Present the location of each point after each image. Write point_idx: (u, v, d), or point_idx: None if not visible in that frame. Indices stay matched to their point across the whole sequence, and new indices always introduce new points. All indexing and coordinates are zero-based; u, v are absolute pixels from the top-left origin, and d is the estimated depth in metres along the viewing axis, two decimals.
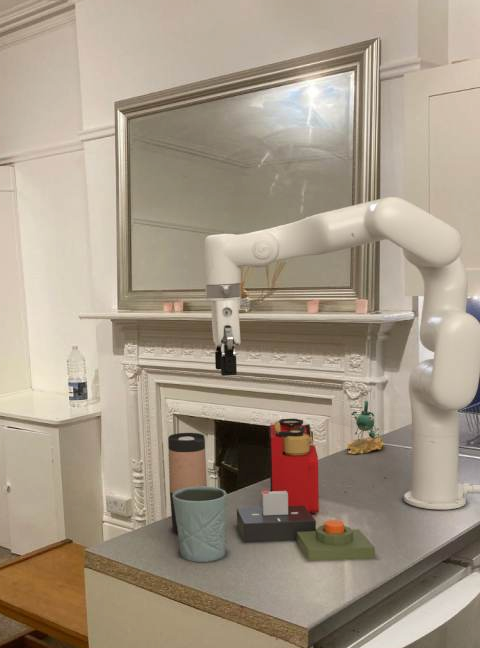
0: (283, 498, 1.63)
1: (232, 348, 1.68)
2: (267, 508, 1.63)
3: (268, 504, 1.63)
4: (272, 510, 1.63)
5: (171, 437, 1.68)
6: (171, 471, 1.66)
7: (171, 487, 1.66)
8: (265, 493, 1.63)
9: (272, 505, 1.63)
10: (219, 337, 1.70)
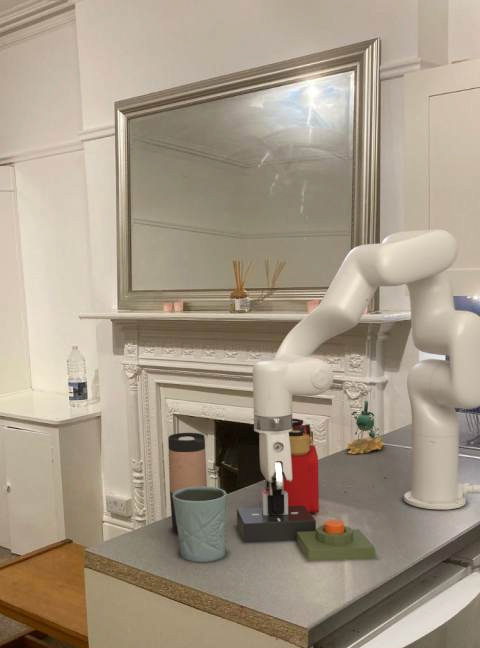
0: None
1: None
2: (267, 508, 1.63)
3: None
4: None
5: (171, 437, 1.68)
6: (171, 471, 1.66)
7: (171, 487, 1.66)
8: (265, 493, 1.63)
9: None
10: (269, 473, 1.58)
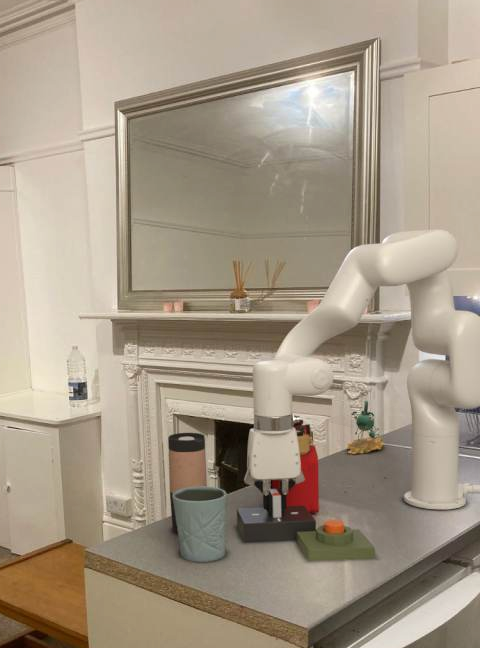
0: None
1: None
2: None
3: None
4: None
5: (171, 437, 1.68)
6: (171, 471, 1.66)
7: (171, 487, 1.66)
8: (279, 494, 1.61)
9: None
10: (300, 468, 1.61)
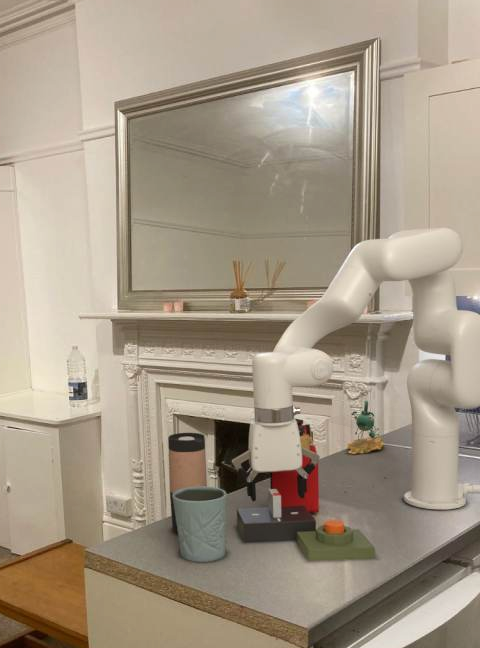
0: None
1: None
2: None
3: None
4: None
5: (171, 437, 1.68)
6: (171, 471, 1.66)
7: (171, 487, 1.66)
8: (279, 494, 1.61)
9: None
10: (301, 459, 1.61)
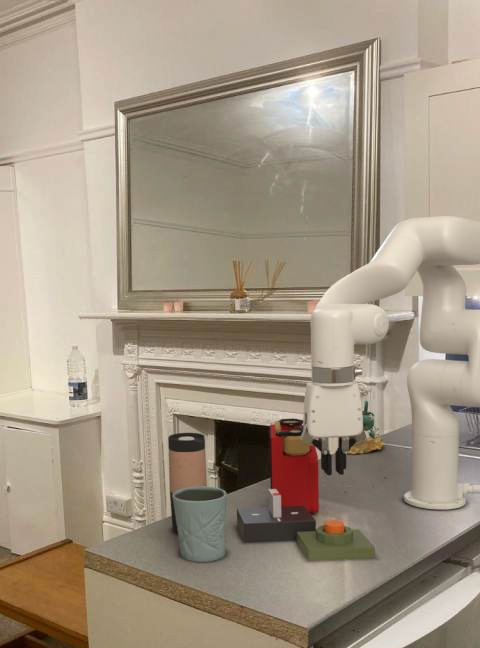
0: None
1: None
2: None
3: None
4: None
5: (171, 437, 1.68)
6: (171, 471, 1.66)
7: (171, 487, 1.66)
8: (279, 494, 1.61)
9: None
10: (362, 424, 1.48)
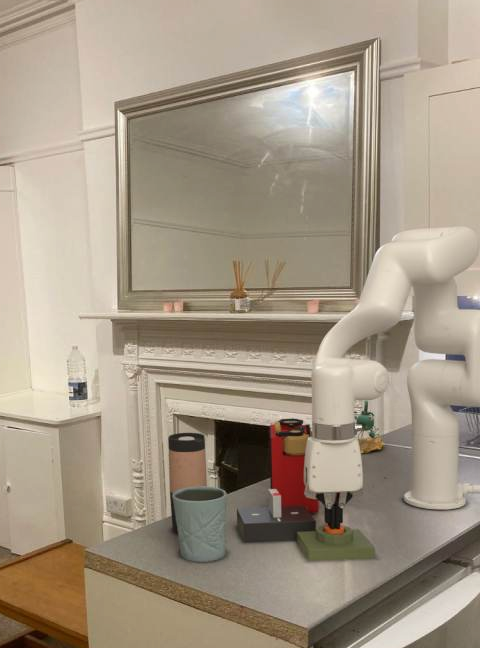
0: None
1: None
2: None
3: None
4: None
5: (171, 437, 1.68)
6: (171, 471, 1.66)
7: (171, 487, 1.66)
8: (279, 494, 1.61)
9: None
10: (362, 480, 1.49)
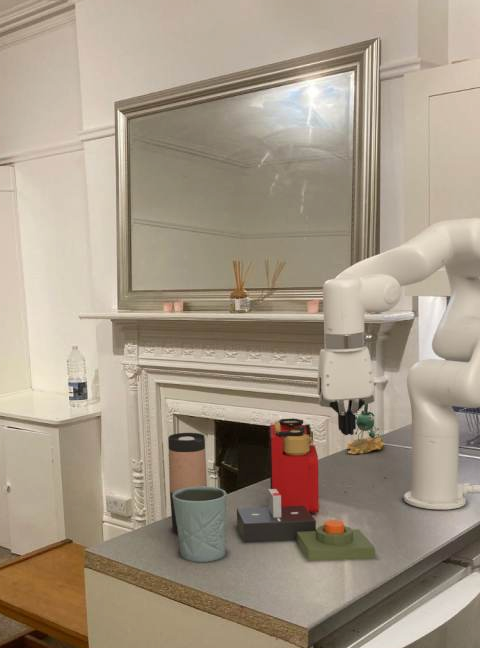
0: None
1: None
2: None
3: None
4: None
5: (171, 437, 1.68)
6: (171, 471, 1.66)
7: (171, 487, 1.66)
8: (279, 494, 1.61)
9: None
10: (373, 387, 1.58)
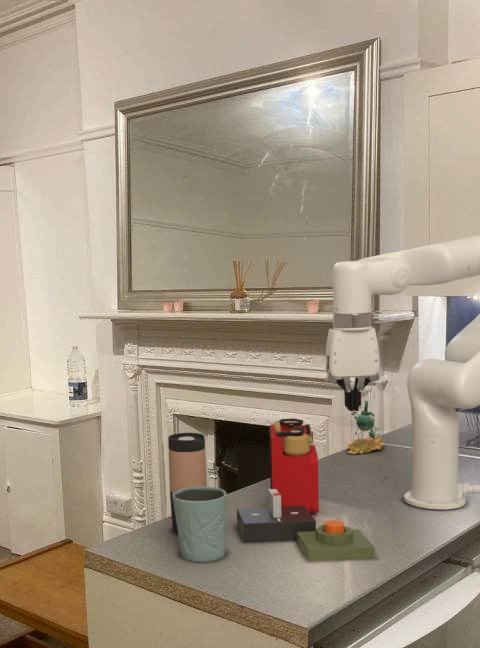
0: None
1: None
2: None
3: None
4: None
5: (171, 437, 1.68)
6: (171, 471, 1.66)
7: (171, 487, 1.66)
8: (279, 494, 1.61)
9: None
10: None
